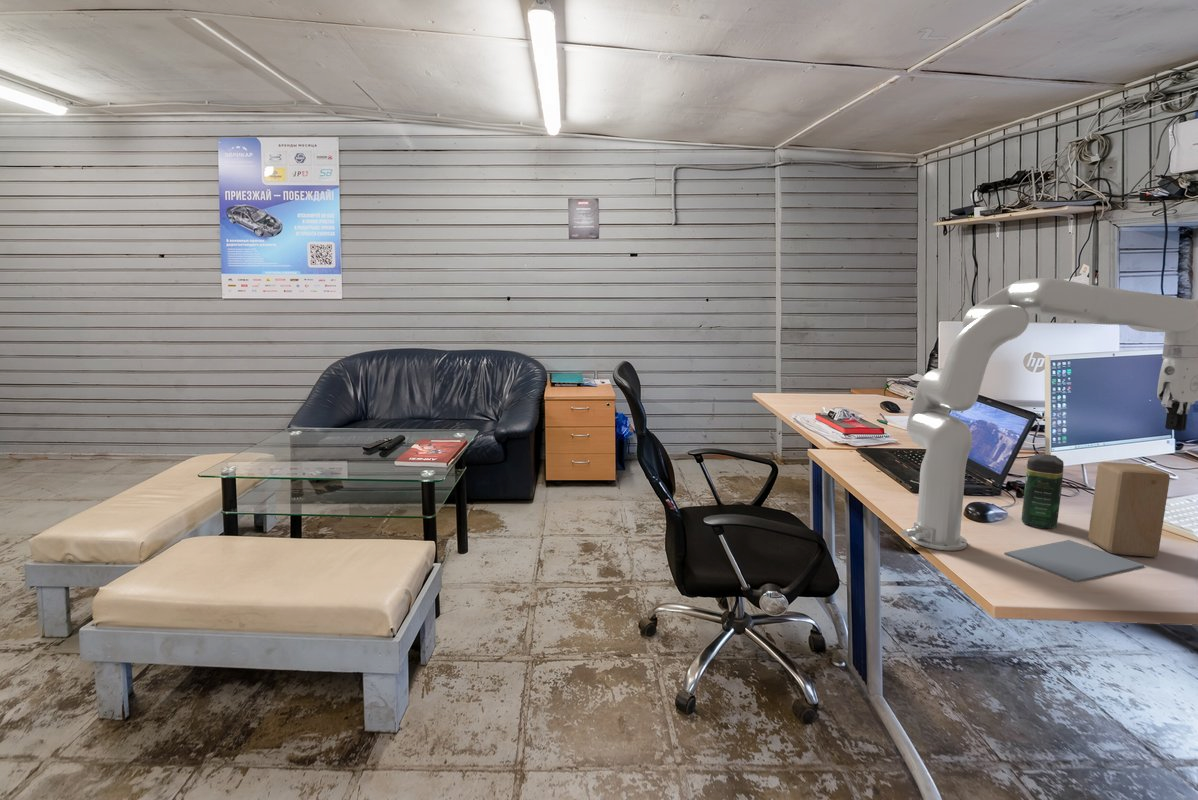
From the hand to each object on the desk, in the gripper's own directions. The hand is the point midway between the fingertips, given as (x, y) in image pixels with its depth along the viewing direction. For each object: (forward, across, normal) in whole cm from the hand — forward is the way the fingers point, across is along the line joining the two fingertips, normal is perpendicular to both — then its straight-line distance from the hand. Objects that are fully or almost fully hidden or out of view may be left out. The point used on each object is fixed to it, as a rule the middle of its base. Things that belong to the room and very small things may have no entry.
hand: (1175, 429), depth 148 cm
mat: (+28, -32, 0) cm, 42 cm away
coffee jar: (+28, -15, +20) cm, 37 cm away
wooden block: (+28, -15, 0) cm, 32 cm away
